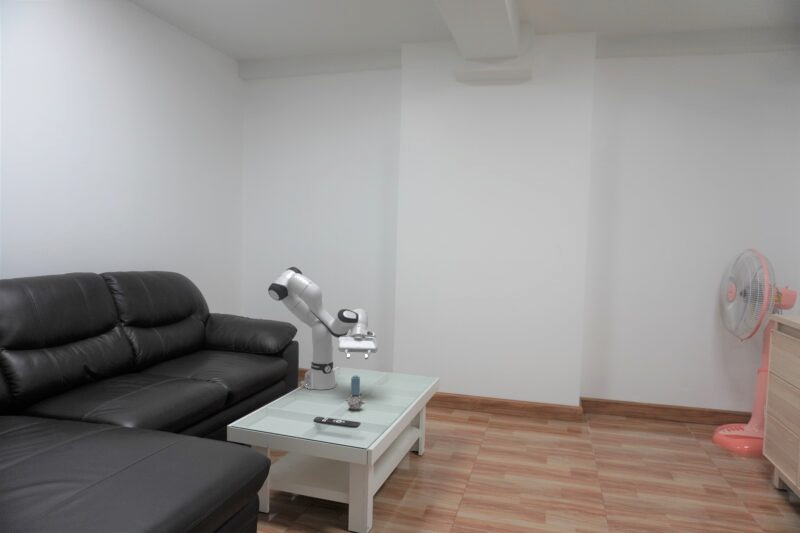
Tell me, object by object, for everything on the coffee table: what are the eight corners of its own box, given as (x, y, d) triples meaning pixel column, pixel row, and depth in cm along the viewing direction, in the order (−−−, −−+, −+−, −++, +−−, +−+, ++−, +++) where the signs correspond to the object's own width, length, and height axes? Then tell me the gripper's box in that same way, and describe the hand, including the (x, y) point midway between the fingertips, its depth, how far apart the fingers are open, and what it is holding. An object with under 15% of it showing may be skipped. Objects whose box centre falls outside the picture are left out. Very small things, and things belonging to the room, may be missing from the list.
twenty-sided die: (358, 416, 270) (370, 400, 271) (351, 415, 263) (364, 398, 264) (345, 405, 274) (358, 388, 275) (339, 403, 267) (351, 386, 267)
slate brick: (351, 392, 271) (351, 375, 270) (359, 392, 271) (359, 375, 270) (351, 394, 267) (351, 376, 266) (359, 394, 267) (359, 377, 266)
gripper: (338, 331, 286) (336, 354, 277) (378, 333, 287) (377, 355, 278) (339, 338, 291) (337, 361, 282) (377, 340, 291) (376, 362, 282)
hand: (357, 358), depth 280 cm, fingers open, 8 cm apart
